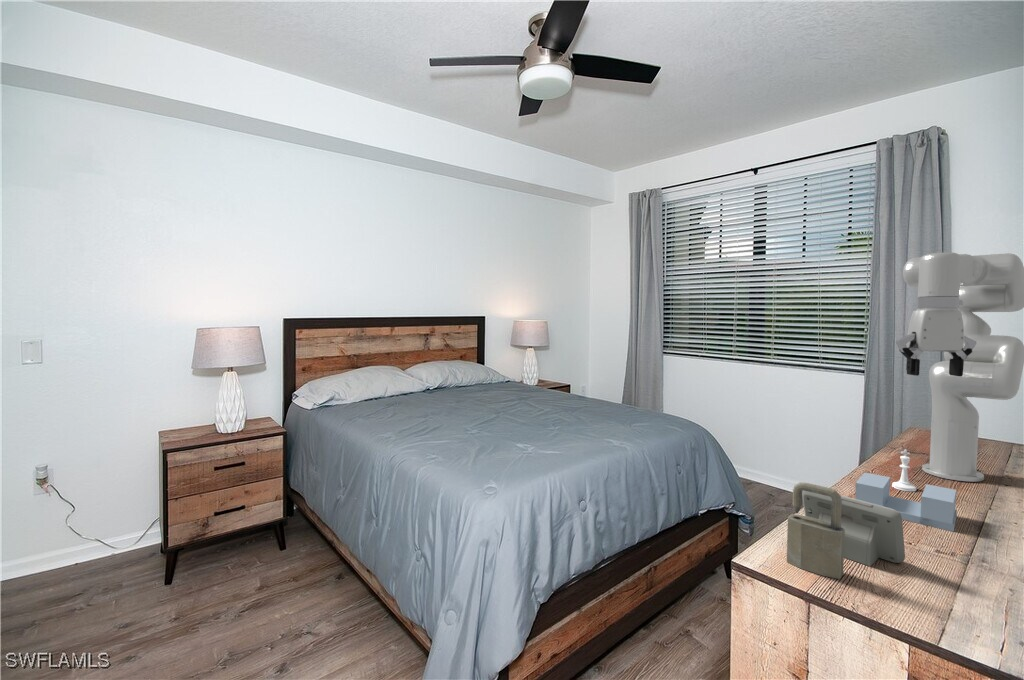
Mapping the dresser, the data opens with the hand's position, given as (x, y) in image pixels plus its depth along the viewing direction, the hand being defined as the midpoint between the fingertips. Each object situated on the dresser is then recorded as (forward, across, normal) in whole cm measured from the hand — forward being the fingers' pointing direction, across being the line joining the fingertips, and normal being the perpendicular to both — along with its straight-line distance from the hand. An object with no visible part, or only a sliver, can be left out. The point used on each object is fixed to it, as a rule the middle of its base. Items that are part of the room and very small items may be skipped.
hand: (934, 375), depth 116 cm
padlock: (+31, +46, +37) cm, 66 cm away
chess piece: (+30, +2, -5) cm, 30 cm away
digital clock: (+31, +36, +30) cm, 56 cm away
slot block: (+30, +13, +11) cm, 35 cm away
